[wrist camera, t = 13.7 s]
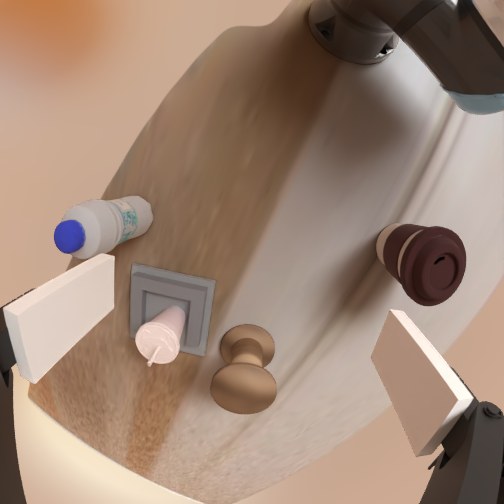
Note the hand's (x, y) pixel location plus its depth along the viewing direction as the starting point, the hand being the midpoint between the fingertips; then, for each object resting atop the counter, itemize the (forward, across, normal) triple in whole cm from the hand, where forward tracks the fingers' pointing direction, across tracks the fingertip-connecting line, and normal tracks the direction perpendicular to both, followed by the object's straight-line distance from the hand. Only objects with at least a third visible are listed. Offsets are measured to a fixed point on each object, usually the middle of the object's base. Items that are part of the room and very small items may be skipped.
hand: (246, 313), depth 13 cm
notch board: (+30, -12, -18) cm, 37 cm away
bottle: (+31, -19, -3) cm, 37 cm away
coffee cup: (+32, +22, 0) cm, 38 cm away
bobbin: (+31, +2, -22) cm, 38 cm away
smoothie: (+30, -11, -18) cm, 37 cm away
